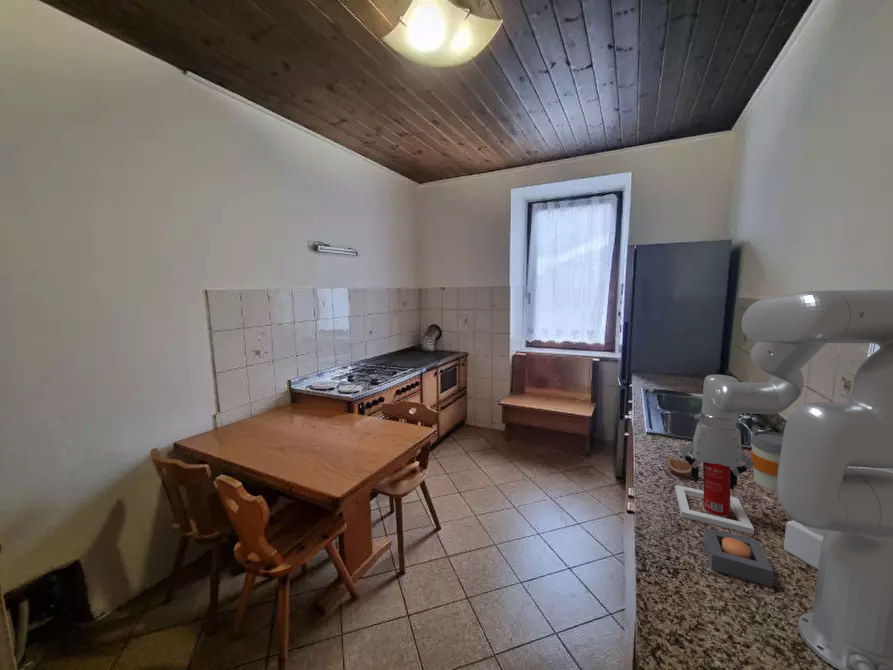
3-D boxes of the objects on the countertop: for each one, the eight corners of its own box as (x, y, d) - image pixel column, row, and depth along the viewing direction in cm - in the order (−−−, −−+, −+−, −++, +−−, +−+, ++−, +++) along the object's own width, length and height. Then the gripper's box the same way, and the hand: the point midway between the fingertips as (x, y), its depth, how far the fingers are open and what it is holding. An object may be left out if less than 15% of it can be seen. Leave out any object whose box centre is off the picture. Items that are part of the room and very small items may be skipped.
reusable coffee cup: (736, 477, 113) (741, 433, 112) (764, 472, 117) (769, 429, 115) (782, 498, 101) (788, 449, 100) (812, 492, 105) (818, 444, 103)
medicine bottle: (822, 572, 74) (829, 520, 73) (782, 549, 81) (788, 501, 80) (844, 566, 76) (851, 514, 75) (803, 543, 83) (809, 496, 82)
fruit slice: (697, 475, 115) (698, 461, 114) (692, 483, 110) (694, 468, 110) (668, 466, 121) (669, 452, 120) (662, 473, 116) (663, 459, 116)
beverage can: (734, 519, 92) (739, 465, 90) (706, 516, 94) (710, 463, 92) (722, 506, 98) (726, 455, 96) (696, 503, 99) (699, 453, 98)
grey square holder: (772, 587, 71) (773, 571, 70) (711, 569, 75) (712, 554, 75) (756, 555, 80) (758, 540, 79) (702, 540, 84) (704, 527, 84)
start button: (752, 566, 74) (753, 555, 74) (724, 558, 76) (725, 548, 76) (745, 551, 78) (747, 541, 78) (719, 544, 81) (720, 534, 80)
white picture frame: (753, 534, 86) (754, 529, 86) (681, 516, 93) (681, 511, 93) (737, 502, 100) (737, 497, 99) (675, 489, 106) (675, 484, 106)
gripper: (681, 420, 94) (676, 482, 96) (765, 431, 86) (758, 499, 88) (677, 412, 101) (673, 470, 103) (755, 422, 93) (749, 485, 95)
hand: (712, 483), depth 96 cm, fingers open, 7 cm apart
